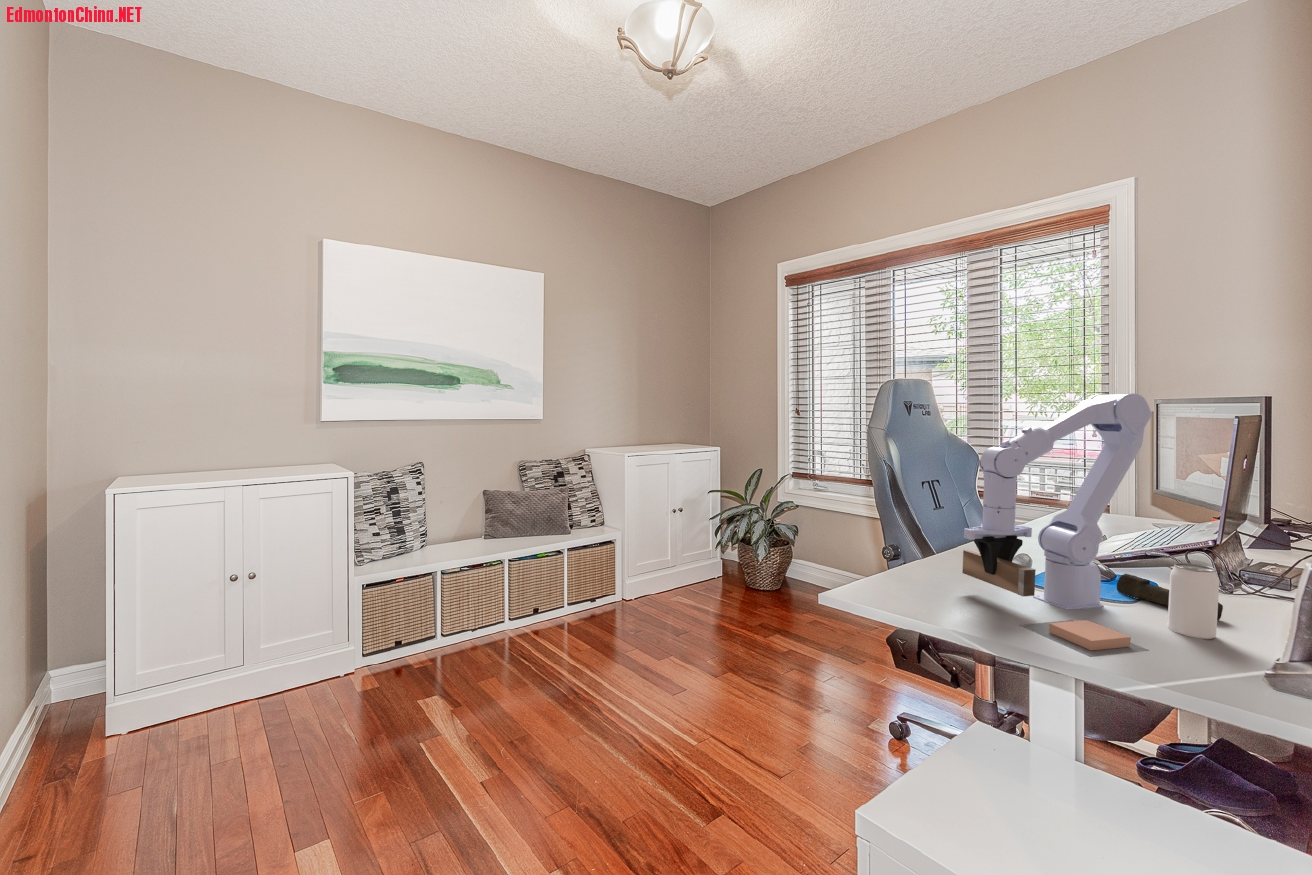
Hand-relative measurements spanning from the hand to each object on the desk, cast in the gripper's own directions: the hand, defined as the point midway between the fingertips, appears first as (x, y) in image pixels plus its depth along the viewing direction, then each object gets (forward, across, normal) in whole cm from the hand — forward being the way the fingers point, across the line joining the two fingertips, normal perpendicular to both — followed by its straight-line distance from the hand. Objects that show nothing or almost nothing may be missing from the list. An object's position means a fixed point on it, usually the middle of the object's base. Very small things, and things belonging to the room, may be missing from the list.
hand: (996, 572), depth 122 cm
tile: (+5, 0, +16) cm, 17 cm away
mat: (+6, 0, +19) cm, 20 cm away
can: (+6, -22, +21) cm, 31 cm away
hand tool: (+7, -33, +8) cm, 34 cm away
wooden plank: (+2, 0, 0) cm, 2 cm away
